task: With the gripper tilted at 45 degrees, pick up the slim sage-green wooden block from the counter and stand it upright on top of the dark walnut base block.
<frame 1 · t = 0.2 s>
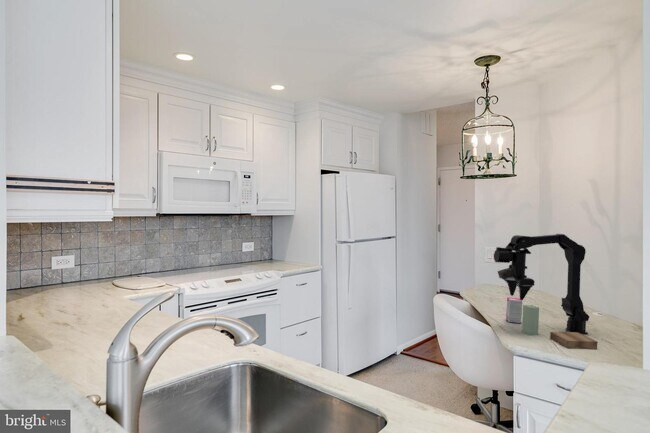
hand: (516, 297, 183), 15 cm above the worktop, tool pointing down, fingers open, 9 cm apart
walnut base: (572, 343, 167), on the worktop
sage block: (530, 333, 180), on the worktop
supplement box: (513, 322, 198), on the worktop
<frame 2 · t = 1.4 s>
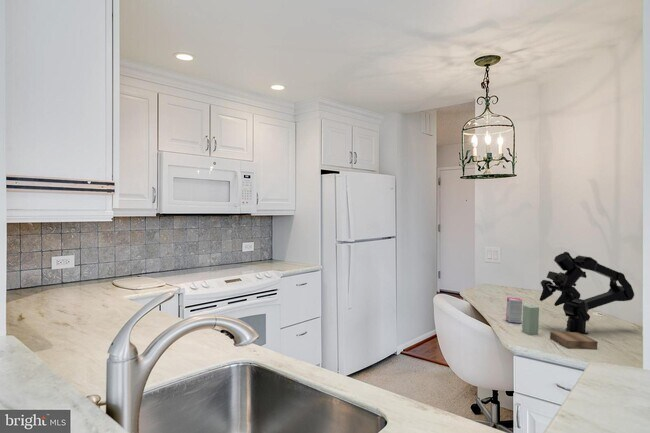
hand: (547, 302, 181), 13 cm above the worktop, tool tilted 45°, fingers open, 9 cm apart
nothing on the worktop moved.
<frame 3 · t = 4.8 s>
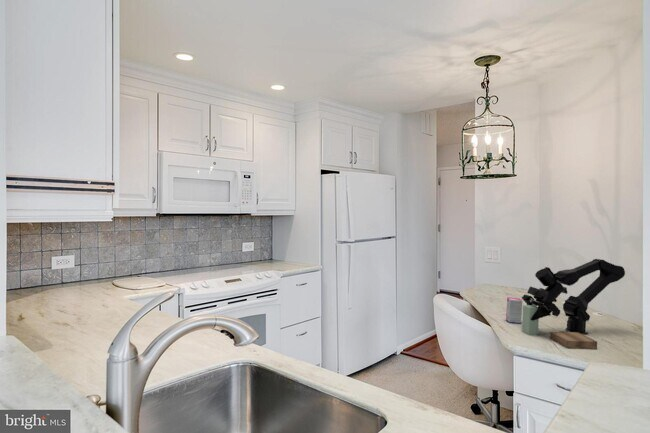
hand: (527, 318, 179), 7 cm above the worktop, tool tilted 45°, fingers closed on sage block, 4 cm apart
sage block: (530, 333, 180), on the worktop, touching gripper
everything else where it was.
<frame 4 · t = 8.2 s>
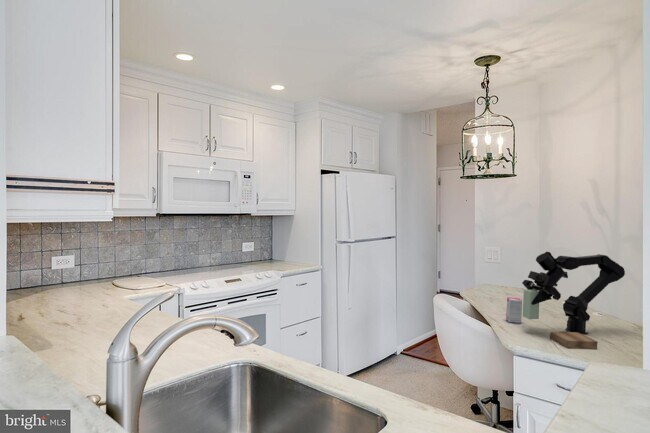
hand: (528, 302, 179), 14 cm above the worktop, tool tilted 45°, fingers closed on sage block, 4 cm apart
sage block: (530, 317, 179), point 7 cm above the worktop, touching gripper
everything else where it was.
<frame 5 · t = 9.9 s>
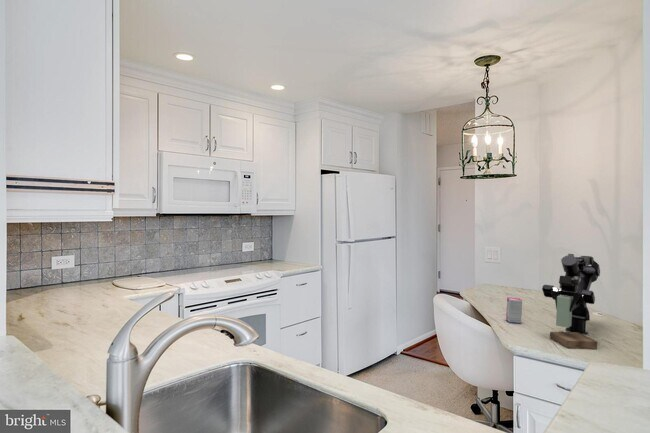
hand: (563, 310, 167), 14 cm above the worktop, tool tilted 45°, fingers closed on sage block, 4 cm apart
sage block: (563, 325, 168), point 7 cm above the worktop, touching gripper
everything else where it was.
when the fingers open (11 cm above the worktop, at t = 11.6 s): sage block drops 1 cm, resting on walnut base.
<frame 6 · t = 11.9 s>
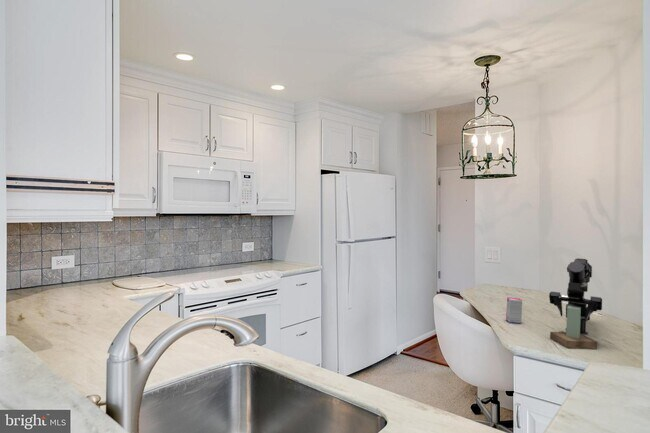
hand: (573, 317, 165), 11 cm above the worktop, tool tilted 45°, fingers open, 8 cm apart
sage block: (572, 336, 166), point 3 cm above the worktop, touching walnut base
everything else where it was.
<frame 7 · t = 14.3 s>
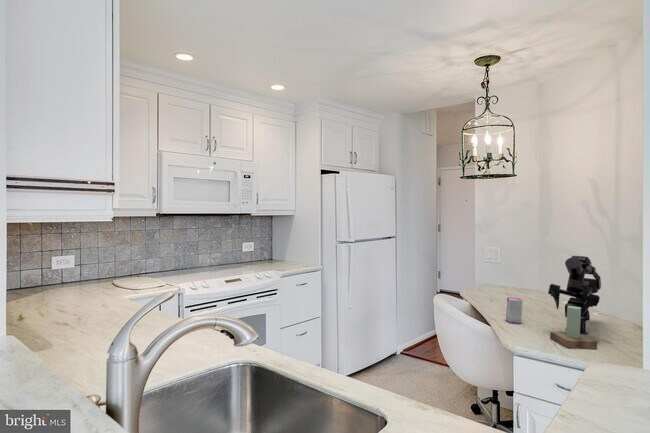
hand: (569, 312, 173), 11 cm above the worktop, tool tilted 35°, fingers open, 9 cm apart
nothing on the worktop moved.
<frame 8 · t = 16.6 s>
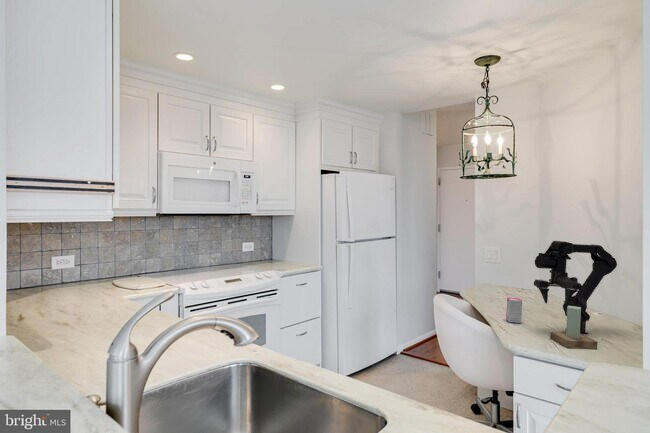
hand: (556, 303, 181), 13 cm above the worktop, tool pointing down, fingers open, 9 cm apart
nothing on the worktop moved.
at the end: sage block inside the target area on the walnut base (0.1 cm from its centre), point 3.0 cm above the walnut base's base; sage block tilted 0°; the gripper is holding nothing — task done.
